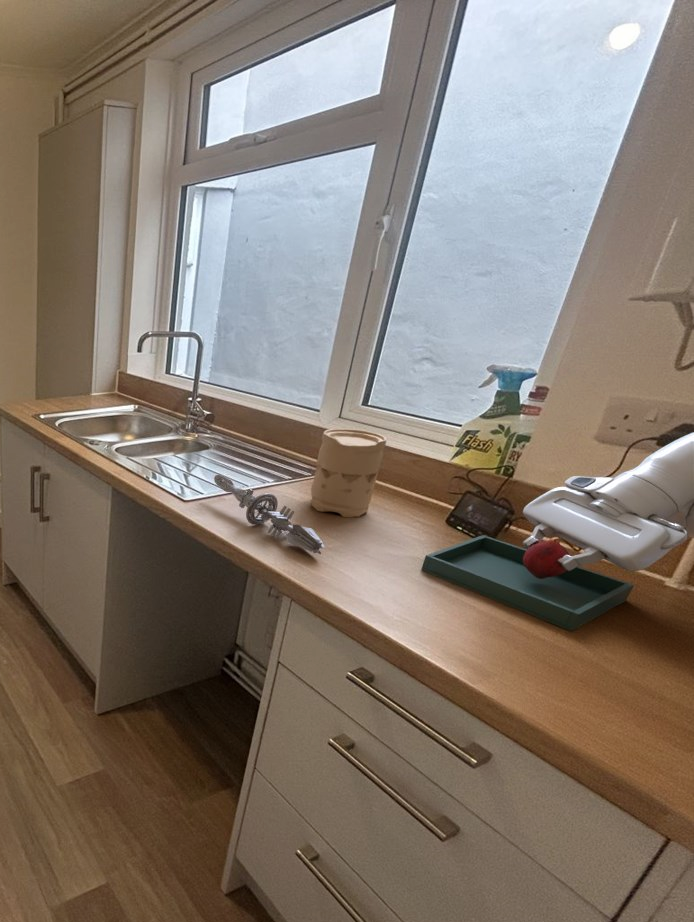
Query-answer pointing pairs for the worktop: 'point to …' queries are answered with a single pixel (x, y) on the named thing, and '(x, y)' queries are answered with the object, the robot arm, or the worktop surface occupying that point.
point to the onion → (545, 558)
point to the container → (346, 471)
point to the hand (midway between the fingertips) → (543, 556)
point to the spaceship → (272, 516)
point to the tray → (527, 582)
